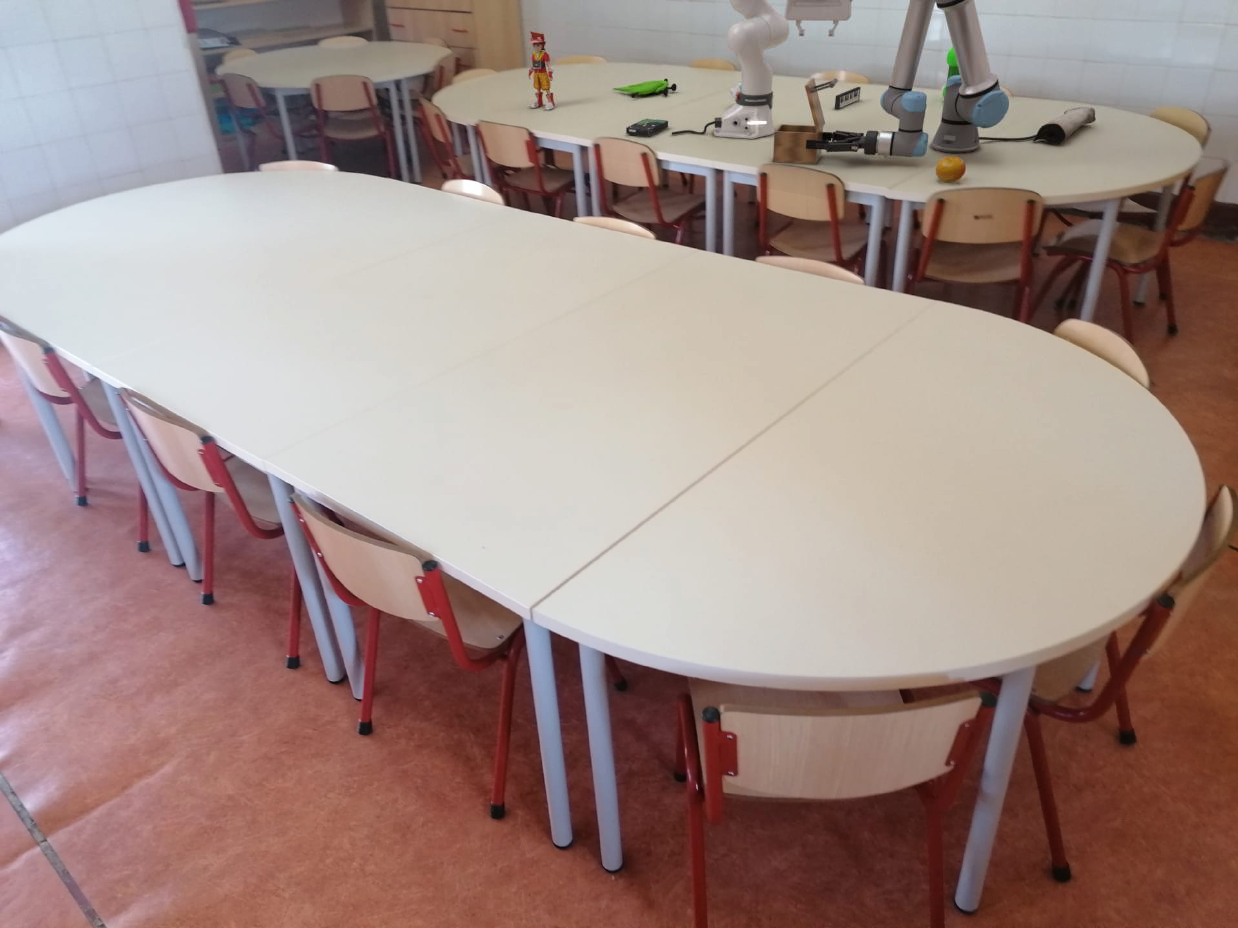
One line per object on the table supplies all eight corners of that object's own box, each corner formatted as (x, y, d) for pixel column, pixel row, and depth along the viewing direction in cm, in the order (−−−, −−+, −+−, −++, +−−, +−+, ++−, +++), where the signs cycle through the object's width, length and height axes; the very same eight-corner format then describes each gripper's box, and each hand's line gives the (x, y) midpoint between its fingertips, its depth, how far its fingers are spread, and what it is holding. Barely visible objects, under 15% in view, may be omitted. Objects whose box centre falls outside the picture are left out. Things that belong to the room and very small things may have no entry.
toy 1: (525, 109, 381) (517, 32, 364) (534, 104, 388) (527, 28, 371) (550, 110, 377) (543, 32, 360) (559, 105, 384) (553, 28, 367)
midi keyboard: (837, 109, 355) (838, 96, 352) (834, 109, 355) (835, 95, 352) (859, 100, 365) (860, 87, 362) (856, 99, 366) (858, 86, 363)
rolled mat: (1061, 112, 323) (1087, 94, 314) (1075, 133, 323) (1101, 116, 315) (1028, 135, 305) (1054, 117, 297) (1043, 158, 306) (1070, 140, 298)
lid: (804, 86, 286) (831, 77, 282) (810, 79, 293) (836, 71, 289) (816, 132, 292) (842, 124, 288) (821, 124, 300) (847, 117, 296)
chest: (772, 162, 303) (774, 131, 297) (779, 153, 310) (780, 124, 304) (815, 164, 298) (817, 133, 293) (820, 156, 305) (823, 126, 300)
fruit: (930, 172, 274) (947, 148, 271) (931, 174, 281) (947, 151, 278) (953, 187, 272) (970, 164, 269) (953, 189, 280) (970, 166, 277)
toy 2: (686, 85, 398) (631, 84, 414) (685, 72, 395) (629, 72, 411) (651, 104, 381) (596, 103, 397) (650, 92, 378) (594, 91, 394)
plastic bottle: (973, 101, 354) (984, 32, 339) (955, 106, 349) (966, 36, 335) (952, 97, 361) (962, 29, 346) (934, 102, 356) (944, 33, 342)
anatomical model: (726, 82, 366) (750, 75, 366) (730, 107, 372) (754, 101, 372) (732, 90, 354) (757, 83, 353) (737, 117, 360) (761, 110, 359)
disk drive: (649, 138, 335) (668, 127, 345) (649, 130, 333) (668, 120, 343) (625, 135, 340) (645, 125, 350) (625, 127, 338) (645, 117, 348)
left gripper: (855, -15, 272) (851, 34, 280) (789, -15, 279) (786, 34, 287) (852, -12, 268) (848, 38, 275) (784, -12, 274) (782, 37, 282)
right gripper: (871, 165, 286) (801, 161, 293) (881, 145, 303) (814, 142, 310) (874, 140, 282) (803, 137, 289) (883, 122, 298) (816, 120, 306)
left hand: (816, 36), depth 281 cm, fingers open, 8 cm apart
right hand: (809, 140), depth 299 cm, fingers closed on chest, 10 cm apart
